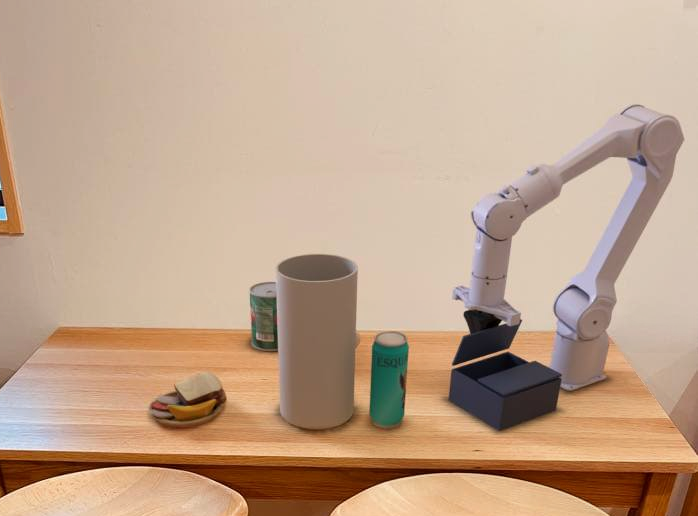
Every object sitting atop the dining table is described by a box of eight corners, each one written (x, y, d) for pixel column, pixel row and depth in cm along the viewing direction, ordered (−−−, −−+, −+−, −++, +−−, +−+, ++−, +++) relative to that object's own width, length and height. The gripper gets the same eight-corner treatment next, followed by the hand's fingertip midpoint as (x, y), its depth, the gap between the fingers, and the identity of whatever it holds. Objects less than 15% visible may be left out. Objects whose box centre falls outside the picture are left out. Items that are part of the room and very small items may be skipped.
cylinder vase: (269, 424, 141) (263, 276, 126) (294, 391, 150) (292, 250, 135) (340, 436, 137) (343, 285, 122) (362, 402, 147) (367, 258, 132)
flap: (452, 366, 143) (451, 364, 143) (509, 348, 148) (507, 347, 148) (464, 337, 138) (463, 335, 138) (522, 320, 143) (521, 318, 143)
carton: (448, 400, 147) (451, 364, 143) (503, 381, 152) (508, 347, 148) (498, 431, 138) (504, 394, 134) (555, 410, 143) (562, 374, 139)
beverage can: (401, 432, 138) (407, 346, 129) (366, 429, 139) (370, 343, 130) (405, 415, 143) (411, 331, 134) (371, 412, 144) (374, 329, 135)
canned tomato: (250, 336, 170) (247, 282, 163) (289, 333, 171) (288, 280, 164) (253, 352, 164) (250, 297, 157) (293, 350, 164) (292, 295, 158)
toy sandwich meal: (142, 401, 148) (139, 377, 145) (217, 389, 152) (215, 364, 149) (157, 435, 139) (153, 409, 136) (236, 421, 142) (234, 395, 139)
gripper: (441, 265, 140) (434, 342, 149) (501, 292, 130) (490, 372, 139) (473, 257, 143) (465, 333, 152) (535, 283, 133) (522, 362, 142)
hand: (479, 351), depth 145 cm, fingers closed
